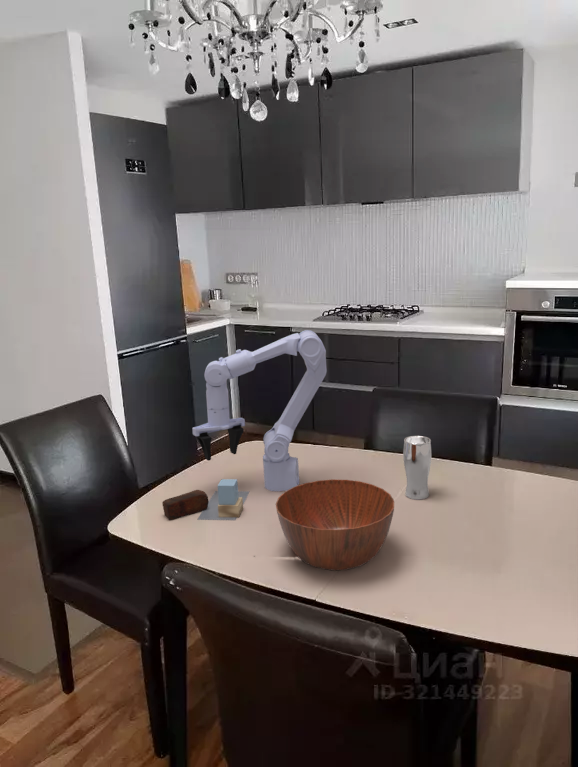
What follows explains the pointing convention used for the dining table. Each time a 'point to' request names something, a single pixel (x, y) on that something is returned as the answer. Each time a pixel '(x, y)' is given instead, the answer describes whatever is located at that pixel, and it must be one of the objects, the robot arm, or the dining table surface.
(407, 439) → the beer glass
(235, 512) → the oak block
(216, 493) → the board
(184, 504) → the brick
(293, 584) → the dining table surface
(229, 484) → the blue block
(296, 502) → the bowl
